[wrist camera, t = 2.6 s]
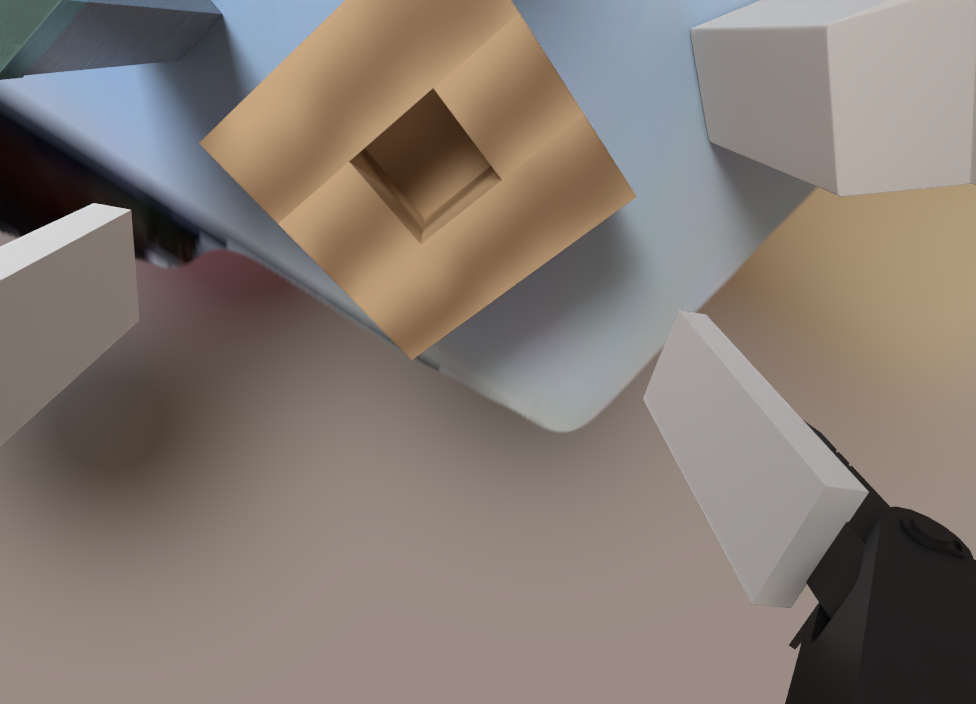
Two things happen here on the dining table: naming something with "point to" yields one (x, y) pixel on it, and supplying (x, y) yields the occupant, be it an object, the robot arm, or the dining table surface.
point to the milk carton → (845, 90)
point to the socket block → (421, 158)
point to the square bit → (97, 33)
